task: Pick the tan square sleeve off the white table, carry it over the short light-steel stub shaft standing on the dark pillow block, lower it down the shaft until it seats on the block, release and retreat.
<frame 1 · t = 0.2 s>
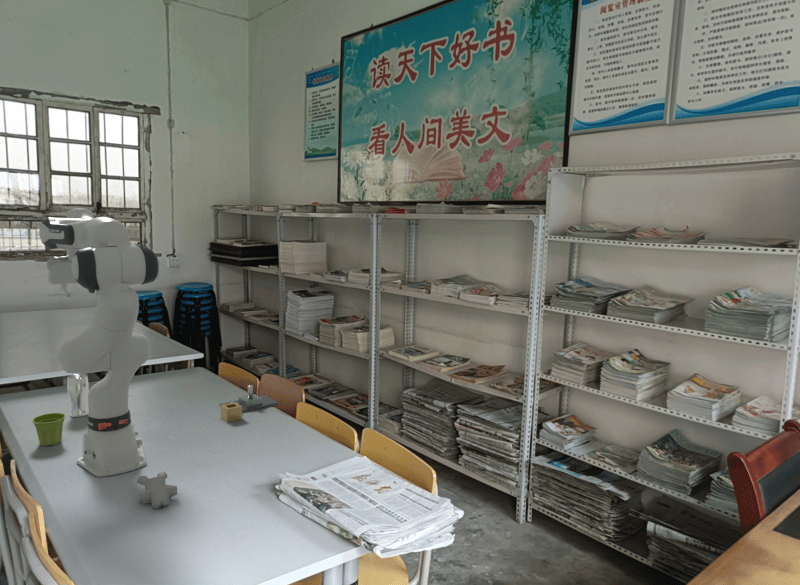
hand: (83, 295, 193), 48 cm above the table, fingers open, 8 cm apart
plant pot: (50, 443, 185), on the table
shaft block: (250, 405, 226), on the table
beer glass: (79, 414, 212), on the table
grey chunky knobbed piece: (156, 498, 151), on the table
tan square sleeve: (231, 418, 211), on the table
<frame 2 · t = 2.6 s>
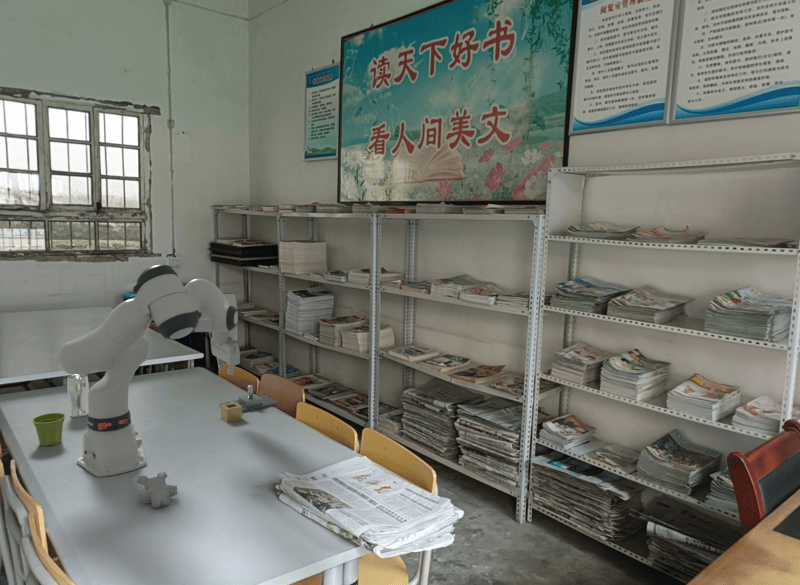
hand: (225, 371, 208), 19 cm above the table, fingers open, 8 cm apart
nothing on the table moved.
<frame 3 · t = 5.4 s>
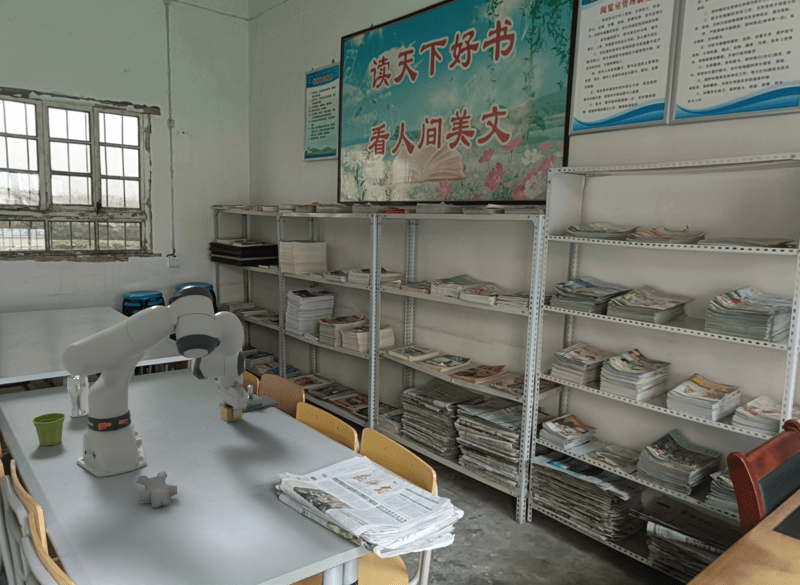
hand: (231, 414, 211), 2 cm above the table, fingers closed on tan square sleeve, 6 cm apart
tan square sleeve: (231, 418, 211), on the table, touching gripper
everything else where it was.
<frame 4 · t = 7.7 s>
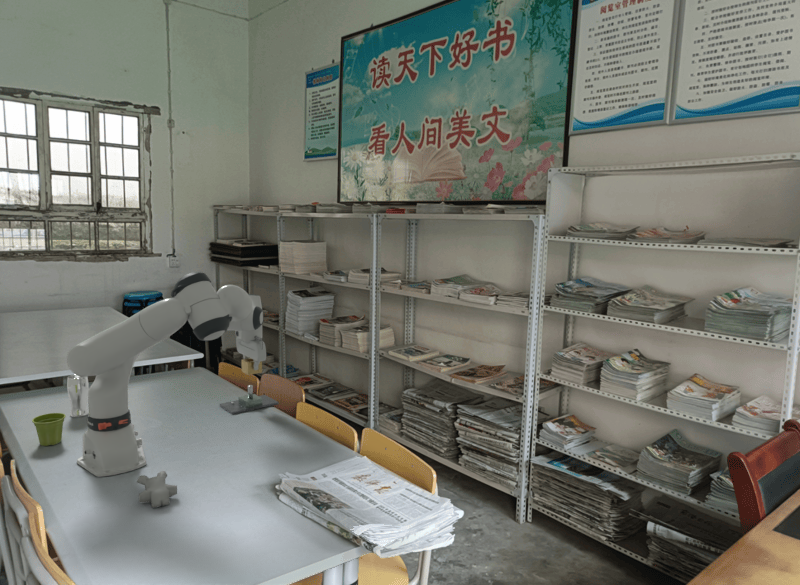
hand: (251, 367, 223), 16 cm above the table, fingers closed on tan square sleeve, 6 cm apart
tan square sleeve: (251, 372, 224), point 14 cm above the table, touching gripper
everything else where it was.
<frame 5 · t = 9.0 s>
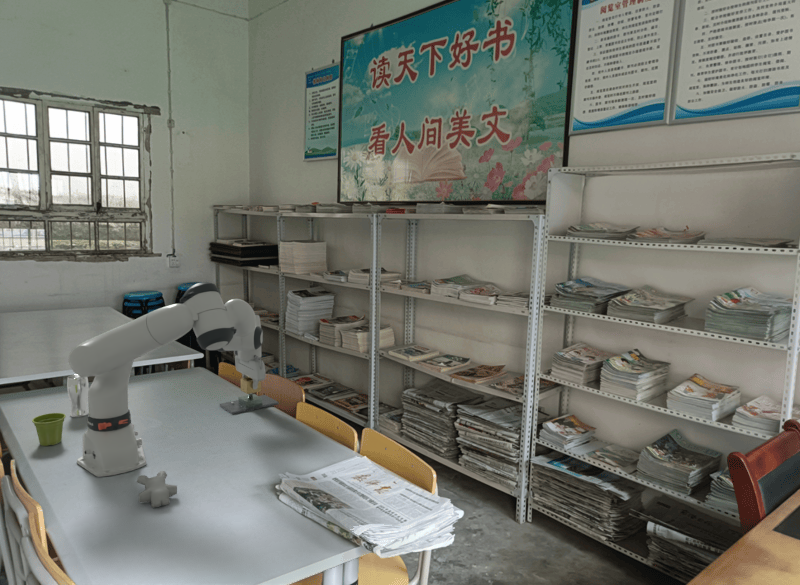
hand: (250, 386, 225), 8 cm above the table, fingers closed on tan square sleeve, 6 cm apart
tan square sleeve: (250, 390, 225), point 6 cm above the table, touching gripper
everything else where it was.
when the fingers open (6 cm above the table, at t = 10.0 s): tan square sleeve stays where it is, resting on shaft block.
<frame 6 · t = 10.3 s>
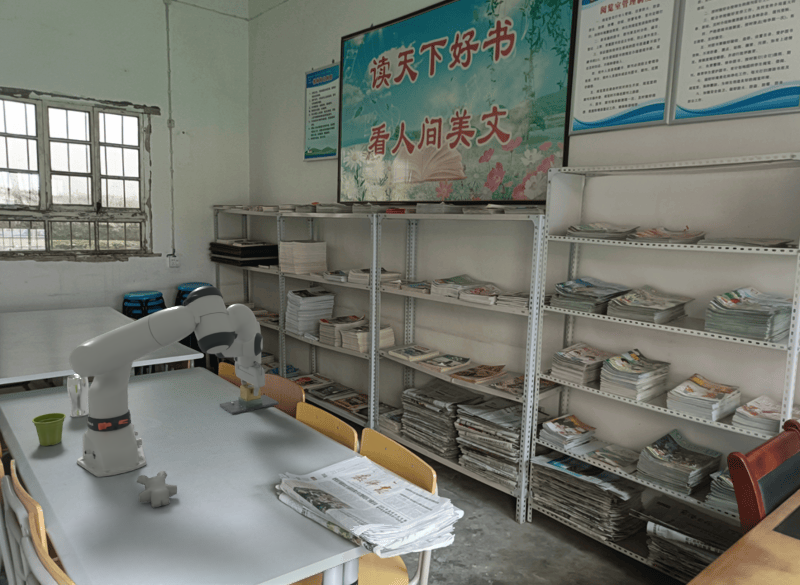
hand: (250, 392, 225), 6 cm above the table, fingers open, 8 cm apart
tan square sleeve: (250, 397, 226), point 3 cm above the table, touching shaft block
everything else where it was.
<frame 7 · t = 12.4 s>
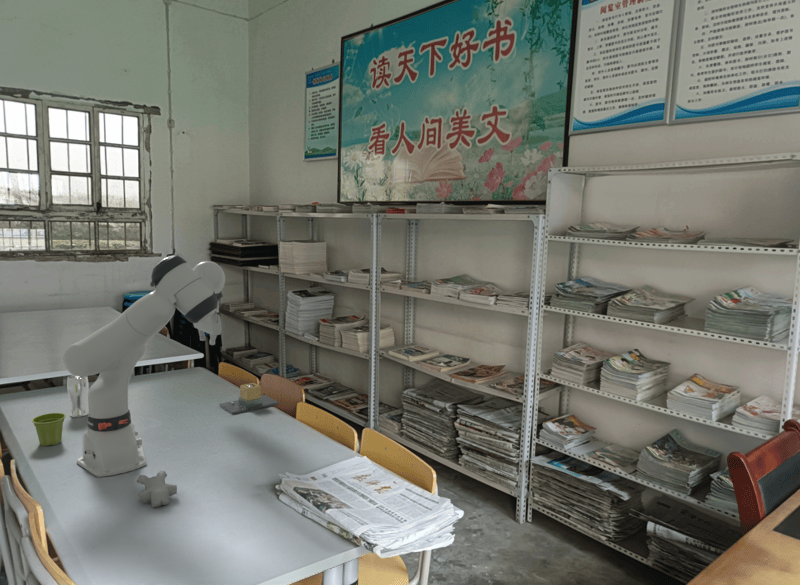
hand: (207, 342, 218), 27 cm above the table, fingers open, 8 cm apart
nothing on the table moved.
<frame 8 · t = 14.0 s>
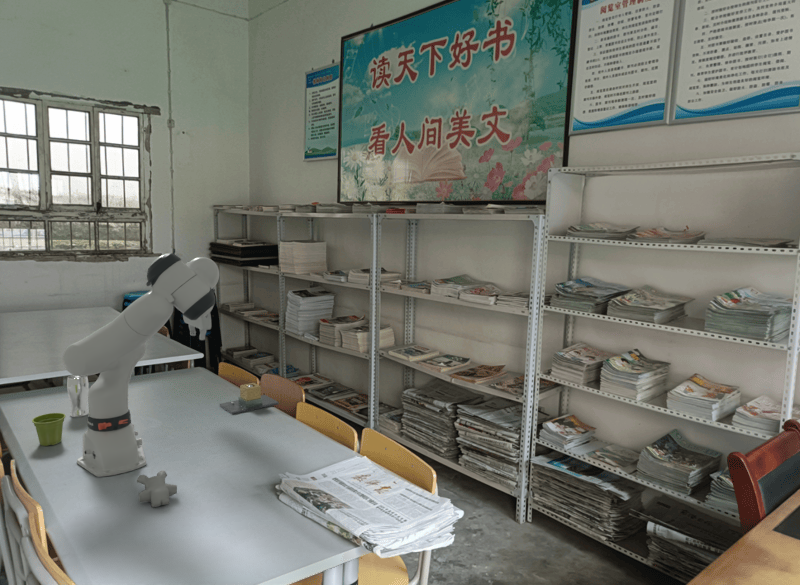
hand: (197, 337, 217), 29 cm above the table, fingers open, 8 cm apart
nothing on the table moved.
at the end: tan square sleeve 0.1 cm off-centre on the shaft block, point 3.5 cm above the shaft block's base; tan square sleeve tilted 0°; the gripper is holding nothing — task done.
